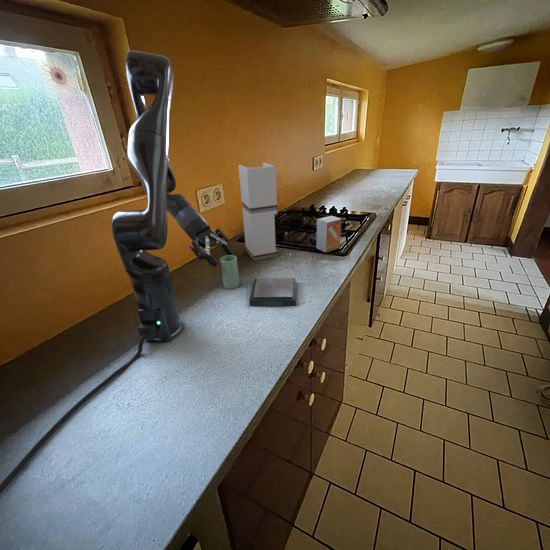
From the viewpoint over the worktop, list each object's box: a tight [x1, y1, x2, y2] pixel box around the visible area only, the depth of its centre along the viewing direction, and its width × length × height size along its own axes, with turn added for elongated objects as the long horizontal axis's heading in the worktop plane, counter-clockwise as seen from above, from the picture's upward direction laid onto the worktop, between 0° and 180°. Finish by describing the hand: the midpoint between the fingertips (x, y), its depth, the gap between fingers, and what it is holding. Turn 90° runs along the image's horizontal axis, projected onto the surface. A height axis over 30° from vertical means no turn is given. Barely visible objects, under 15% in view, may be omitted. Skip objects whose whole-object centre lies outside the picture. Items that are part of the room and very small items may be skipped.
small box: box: [315, 215, 343, 253], centre depth 126 cm, size 8×6×13 cm
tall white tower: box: [238, 162, 280, 262], centre depth 119 cm, size 11×11×35 cm
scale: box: [248, 277, 297, 307], centre depth 96 cm, size 14×14×3 cm
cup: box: [219, 254, 240, 290], centre depth 101 cm, size 5×5×10 cm
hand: (224, 260), depth 100 cm, fingers open, 8 cm apart
